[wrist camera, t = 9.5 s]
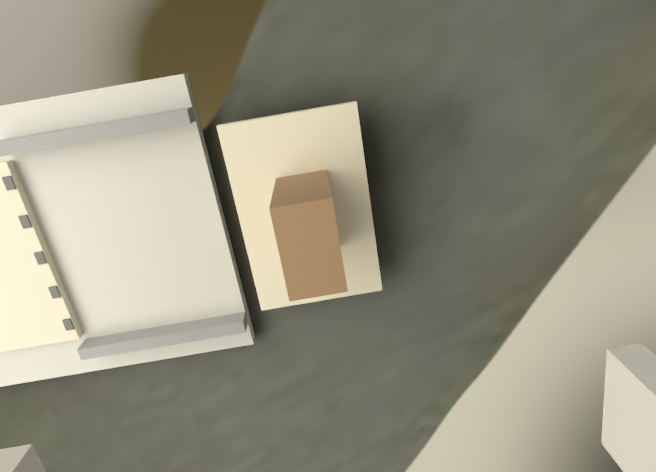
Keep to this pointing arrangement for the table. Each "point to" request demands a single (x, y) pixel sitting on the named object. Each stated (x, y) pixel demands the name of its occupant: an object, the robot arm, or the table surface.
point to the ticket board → (112, 234)
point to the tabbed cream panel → (303, 204)
